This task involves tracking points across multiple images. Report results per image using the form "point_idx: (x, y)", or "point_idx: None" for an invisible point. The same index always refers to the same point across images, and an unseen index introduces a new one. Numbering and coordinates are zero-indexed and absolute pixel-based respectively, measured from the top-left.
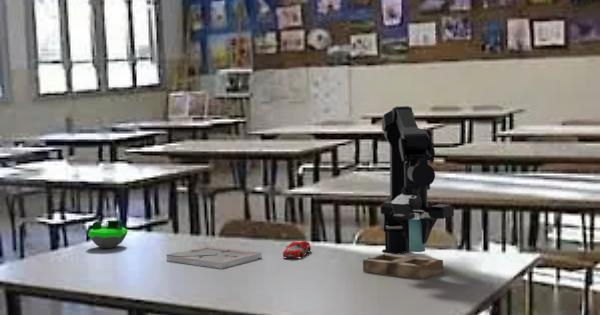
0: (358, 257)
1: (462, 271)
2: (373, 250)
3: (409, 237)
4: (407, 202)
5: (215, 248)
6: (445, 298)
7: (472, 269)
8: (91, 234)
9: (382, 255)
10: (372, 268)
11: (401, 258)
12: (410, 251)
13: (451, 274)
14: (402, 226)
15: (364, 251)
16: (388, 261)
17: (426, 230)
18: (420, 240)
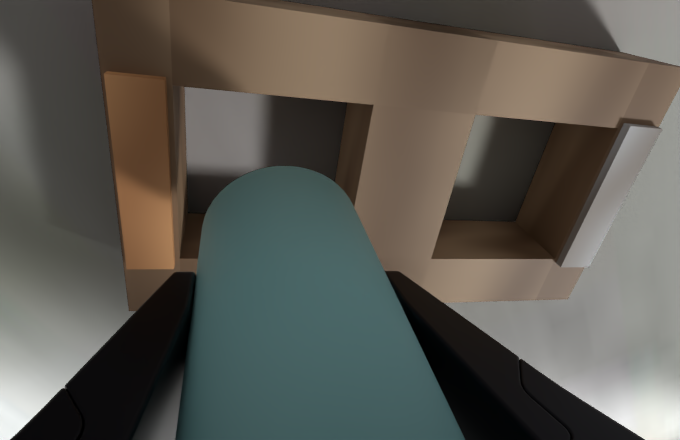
0: (664, 317)
1: (41, 313)
2: (614, 420)
3: (376, 271)
4: None
5: None
6: None
7: (30, 372)
8: None
9: (570, 240)
10: (577, 48)
11: (429, 228)
12: (325, 177)
13: (37, 219)
14: (569, 397)
15: (646, 397)
16: (492, 95)
17: (40, 426)
18: (206, 274)
